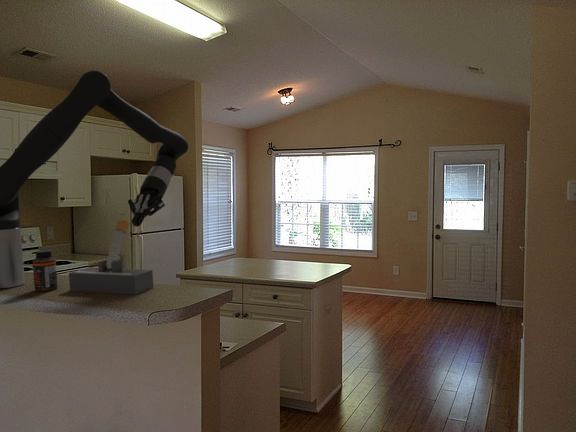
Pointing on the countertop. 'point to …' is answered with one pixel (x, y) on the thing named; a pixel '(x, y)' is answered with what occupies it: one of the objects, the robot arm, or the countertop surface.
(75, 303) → the countertop surface
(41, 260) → the supplement bottle
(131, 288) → the block
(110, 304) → the countertop surface
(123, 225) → the lever
